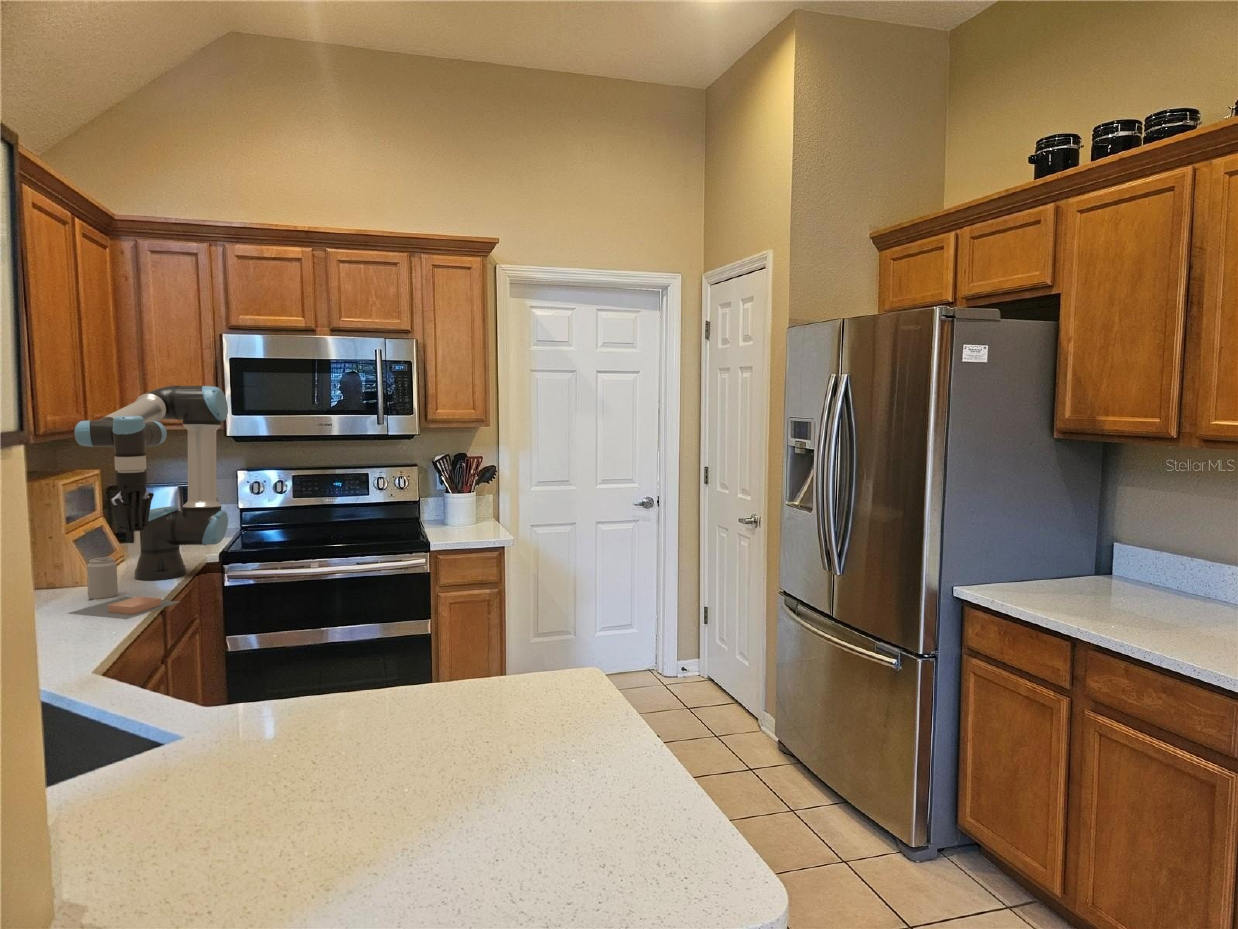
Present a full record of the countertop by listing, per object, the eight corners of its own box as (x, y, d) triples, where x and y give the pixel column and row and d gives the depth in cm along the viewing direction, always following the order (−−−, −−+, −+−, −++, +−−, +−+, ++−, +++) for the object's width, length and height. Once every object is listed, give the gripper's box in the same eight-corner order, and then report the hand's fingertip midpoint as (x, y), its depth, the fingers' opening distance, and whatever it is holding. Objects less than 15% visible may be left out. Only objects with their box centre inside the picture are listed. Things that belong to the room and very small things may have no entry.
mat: (125, 598, 233) (125, 596, 233) (181, 603, 229) (180, 601, 229) (67, 615, 215) (66, 613, 215) (126, 621, 210) (126, 619, 210)
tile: (138, 596, 226) (108, 605, 216) (160, 598, 224) (131, 607, 214) (138, 603, 226) (108, 612, 216) (161, 605, 224) (132, 614, 215)
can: (123, 595, 237) (122, 556, 236) (105, 601, 230) (103, 561, 229) (101, 594, 238) (99, 555, 237) (81, 600, 231) (80, 560, 230)
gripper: (139, 468, 224) (142, 548, 227) (99, 472, 212) (103, 557, 214) (160, 469, 223) (164, 549, 225) (122, 474, 210) (126, 559, 212)
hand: (134, 553), depth 220 cm, fingers closed
